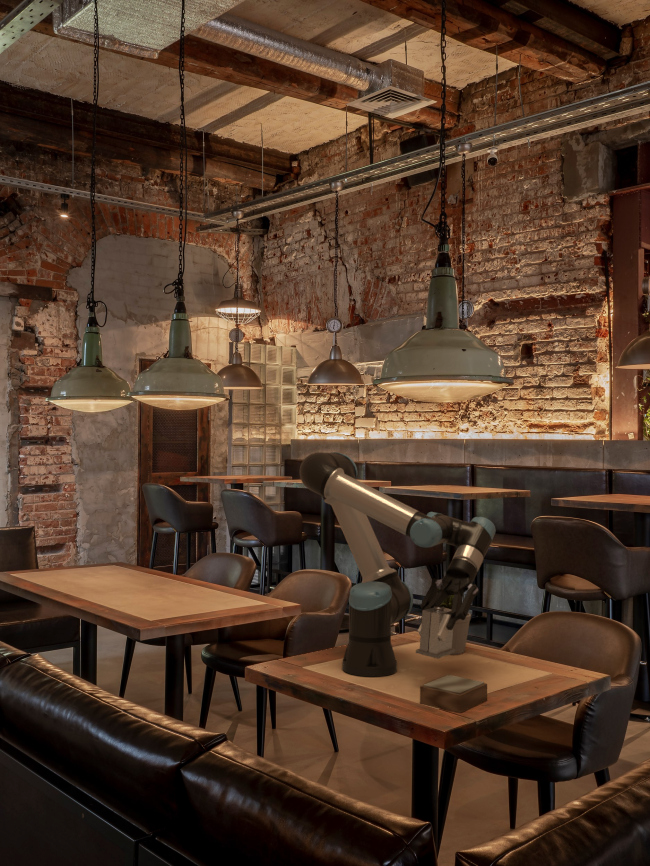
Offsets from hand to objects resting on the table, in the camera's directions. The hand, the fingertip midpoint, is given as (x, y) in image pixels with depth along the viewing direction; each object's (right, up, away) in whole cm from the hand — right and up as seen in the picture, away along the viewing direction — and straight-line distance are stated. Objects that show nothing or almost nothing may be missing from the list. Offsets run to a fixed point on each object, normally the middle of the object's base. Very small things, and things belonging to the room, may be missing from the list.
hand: (430, 636), depth 204 cm
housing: (+2, -5, +3) cm, 6 cm away
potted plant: (+11, -15, +40) cm, 44 cm away
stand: (+4, -13, -11) cm, 18 cm away
